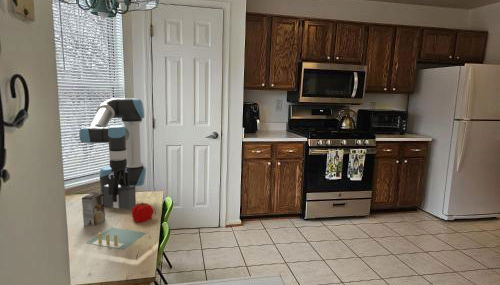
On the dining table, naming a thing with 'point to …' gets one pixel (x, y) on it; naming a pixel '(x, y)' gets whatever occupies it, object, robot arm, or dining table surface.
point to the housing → (121, 197)
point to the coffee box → (93, 209)
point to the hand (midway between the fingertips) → (120, 205)
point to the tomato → (142, 212)
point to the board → (116, 238)
